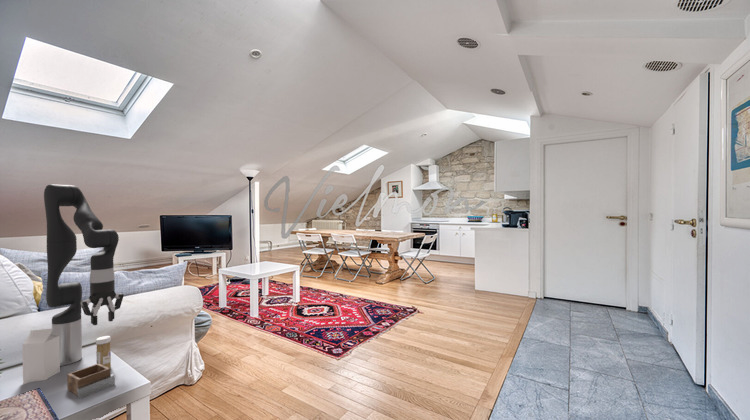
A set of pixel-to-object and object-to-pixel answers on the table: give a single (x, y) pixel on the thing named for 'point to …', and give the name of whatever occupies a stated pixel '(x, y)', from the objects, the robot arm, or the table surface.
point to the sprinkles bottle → (103, 351)
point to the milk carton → (40, 355)
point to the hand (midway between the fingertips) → (103, 322)
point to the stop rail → (95, 386)
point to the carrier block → (86, 376)
